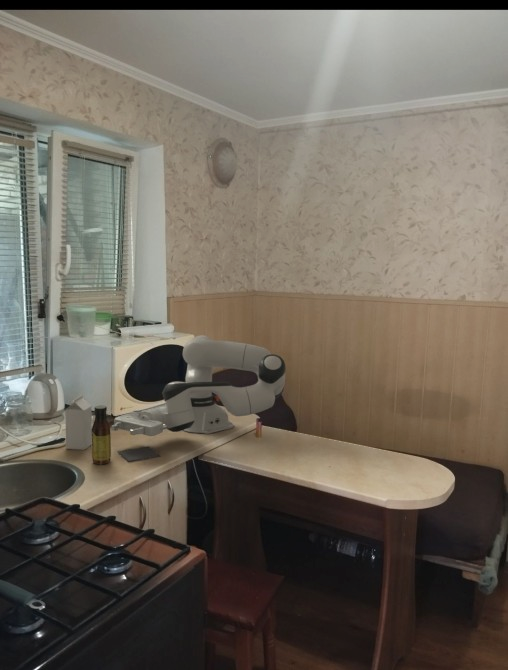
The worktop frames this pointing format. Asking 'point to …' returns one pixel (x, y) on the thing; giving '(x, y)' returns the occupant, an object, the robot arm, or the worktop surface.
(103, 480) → the worktop surface
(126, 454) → the mat
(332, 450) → the worktop surface
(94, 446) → the sauce bottle
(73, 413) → the milk carton
